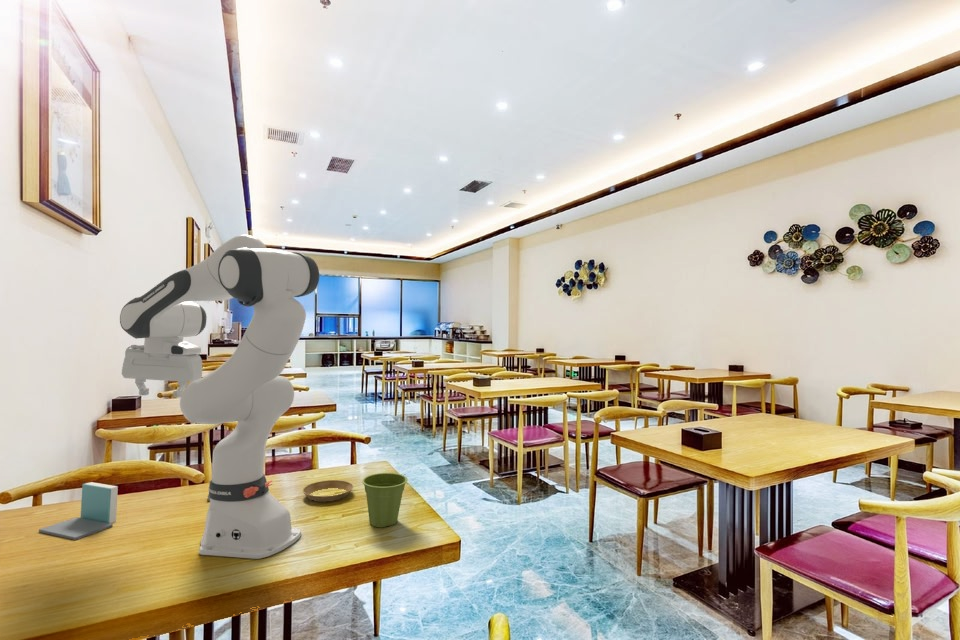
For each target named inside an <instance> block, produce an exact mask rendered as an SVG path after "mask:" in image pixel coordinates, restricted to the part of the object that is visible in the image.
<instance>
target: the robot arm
mask: <svg viewBox="0 0 960 640" xmlns="http://www.w3.org/2000/svg"><path fill="white" fill-rule="evenodd" d="M319 282H320V269H319V267H318V264H317V262H316V261H315V260H314V259H313V258H312V257H310V256H308V255H306V254H304V253H300V252H289V251H285V250H278V249H275V248H267V246H266V245H265V243H264V242H263V241H261V240H260V239H259V238H257V237H255V236H252V235H249V234H239V235H236V236H234V237H232V238H230V239H228V240H227V241H225V242H224V243H223V244H221V245H220V246H219V247H217V248H216V249H215V250H213V252H212V253H211V254H210V255H209V256H207V258H205V259H203V260H202V261H200V262H198V263H196V264H194V265H192V266H189V267H187V268H185V269H182V270H179V271H177V272H176V271H175V272H174V273H172V274H170V275H169V276H168V277H166V278H165V279H163V280H162V281H160V282H159V283H157V284H156V285H154V287H152V288H150V289H149V290H148V291H147V292H146V293H144V294H143V295H141V296H139V297H138V296H137V297H135V298H134V297H133V298H132V299H131V300H129V301H127V303H126V304H125V305H124V306H123V307H122V309H121V311H120V313H119V324H120V327H121V329H123V330H124V332H125V333H127V334H128V335H129V336H131V337H132V338H133V339H136V340H137V339H144V343H143V345H139V344H138V345H137V344H132V345H130V346H128V347H127V348H125V352H124V359H123V363H122V366H121V367H122V369H121V375H122V377H123V378H124V379H132V380H133V379H135V382H134V384H135V386H136V387H137V389H138V395H139V396H148V395H149V394H150V392H149V391H150V388H147V387H146V384H145V383H146V381H147V380H149V381H152V380H153V381H166V382H177V386H178V388H177V390H173V391H172V393H173V395H172V397H173V398H179V399H180V401H179V406H180V407H179V408H180V412H181V413H182V416H183V417H184V418H185V419H186V420H187V421H188V422H189V423H191V424H199V425H200V424H201V425H217V424H225V423H234V422H237V424H236V426H235V428H234V429H233V431H232V432H231V433H230V434H228V435H227V436H225V437H223V439H221V440H219V442H217V443H216V445H215V447H214V449H213V452H212V467H211V468H212V469H211V480H210V481H209V487H208V494H209V497H210V501H209V506H208V509H207V513H206V517H205V524H204V530H203V534H202V538H201V541H200V547H199V550H198V554H199V555H202V556H216V557H229V558H230V557H231V558H241V559H242V558H243V559H255V560H256V559H257V560H258V559H263V558H266V557H270V556H273V555H275V554H277V553H279V552H282V551H283V550H285V549H286V548H288V547H290V546H291V545H293V544H294V543H296V542H297V541H298V540H299V539H300V537H301V535H302V530H301V529H300V528H296V527H293V526H292V520H291V514H290V511H289V509H287V508H286V507H285V506H284V505H283V504H282V503H281V502H280V501H279V500H278V499H277V498H276V497H275V496H274V495H273V494H272V493H271V492H270V489H269V487H270V486H273V480H269V481H268V480H267V478H266V476H265V473H264V466H265V464H264V463H265V452H266V446H267V442H268V438H269V436H270V434H271V432H272V430H273V428H274V426H275V424H276V423H277V421H278V420H279V419H280V417H281V416H282V415H284V414H285V413H286V412H287V411H288V410H289V409H290V408H291V406H292V404H293V402H294V400H295V399H294V398H295V388H294V386H293V384H292V382H291V381H290V379H289V378H287V377H286V376H284V375H281V374H282V372H284V369H285V368H286V366H287V363H288V361H289V360H290V358H291V356H292V354H293V352H294V351H295V348H297V345H298V342H299V341H300V338H301V335H302V332H303V329H304V326H305V323H306V322H305V321H306V318H307V313H306V309H305V308H304V306H303V304H302V303H301V302H300V301H299V300H297V299H295V298H300V297H305V296H307V295H310V294H312V293H313V292H314V291H315V290H316V289H317V287H318V284H319ZM232 299H236V301H238V303H239V305H241V306H243V307H253V314H252V315H253V316H252V317H251V320H250V322H249V324H248V326H247V327H246V329H245V330H244V331H245V332H244V334H243V336H242V337H241V340H240V342H239V344H238V345H237V347H236V349H235V350H234V352H233V353H232V355H230V357H229V358H228V359H227V360H226V361H225V362H224V363H222V364H221V365H219V367H217V368H216V369H214V370H212V371H211V372H210V373H208V374H207V375H205V376H203V359H202V358H201V356H200V355H199V354H201V352H202V348H201V346H199V345H197V344H194V343H191V342H189V341H186V340H184V338H190V337H196V336H198V335H200V334H201V333H202V332H203V331H204V329H205V328H206V325H207V318H208V317H207V313H206V310H205V309H204V308H203V307H202V305H200V304H199V303H195V302H219V301H220V302H221V301H228V300H232ZM202 376H203V377H202Z"/></svg>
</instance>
